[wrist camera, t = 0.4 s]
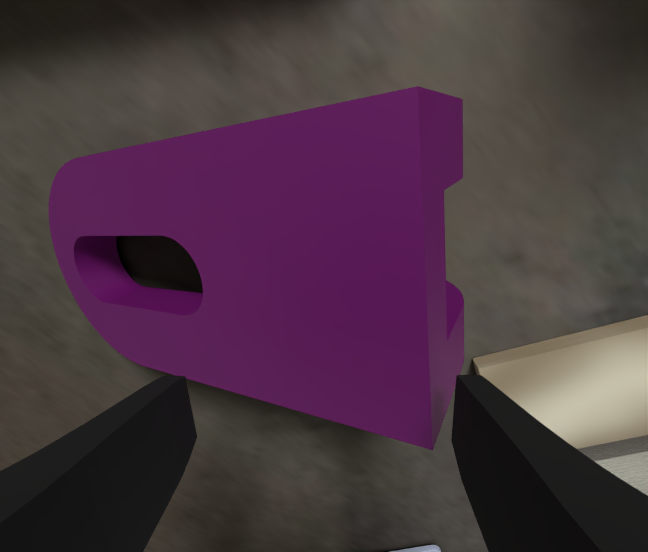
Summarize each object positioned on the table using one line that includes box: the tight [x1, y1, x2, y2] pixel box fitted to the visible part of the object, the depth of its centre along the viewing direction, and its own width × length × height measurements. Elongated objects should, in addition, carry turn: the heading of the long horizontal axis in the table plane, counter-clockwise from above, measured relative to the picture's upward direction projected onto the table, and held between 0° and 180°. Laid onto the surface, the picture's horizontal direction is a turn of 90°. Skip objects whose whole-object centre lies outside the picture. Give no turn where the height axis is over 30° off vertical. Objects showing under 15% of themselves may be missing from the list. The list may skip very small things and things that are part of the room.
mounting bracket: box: [49, 87, 464, 450], centre depth 17 cm, size 9×8×18 cm
